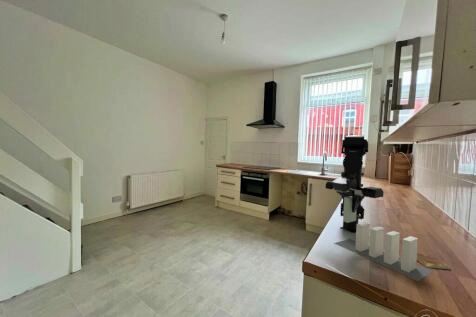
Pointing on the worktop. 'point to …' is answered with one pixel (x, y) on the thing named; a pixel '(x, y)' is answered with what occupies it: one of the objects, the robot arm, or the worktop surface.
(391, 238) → the ivory domino
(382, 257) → the mat
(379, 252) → the ivory domino
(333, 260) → the worktop surface
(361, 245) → the ivory domino
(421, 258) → the shard
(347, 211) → the sage domino
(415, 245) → the ivory domino
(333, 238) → the worktop surface
